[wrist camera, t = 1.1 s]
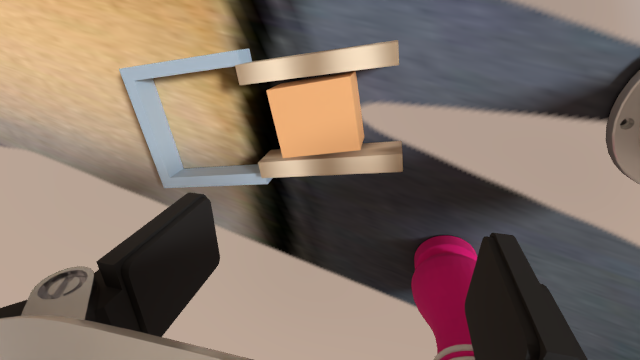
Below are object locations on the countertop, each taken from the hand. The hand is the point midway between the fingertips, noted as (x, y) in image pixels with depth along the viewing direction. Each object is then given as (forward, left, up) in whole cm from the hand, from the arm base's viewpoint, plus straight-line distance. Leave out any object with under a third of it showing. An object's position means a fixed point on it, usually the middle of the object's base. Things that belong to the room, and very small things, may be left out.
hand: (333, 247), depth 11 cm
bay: (+16, -1, -20) cm, 26 cm away
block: (+4, -1, -20) cm, 21 cm away
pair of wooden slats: (+4, -1, -20) cm, 20 cm away
